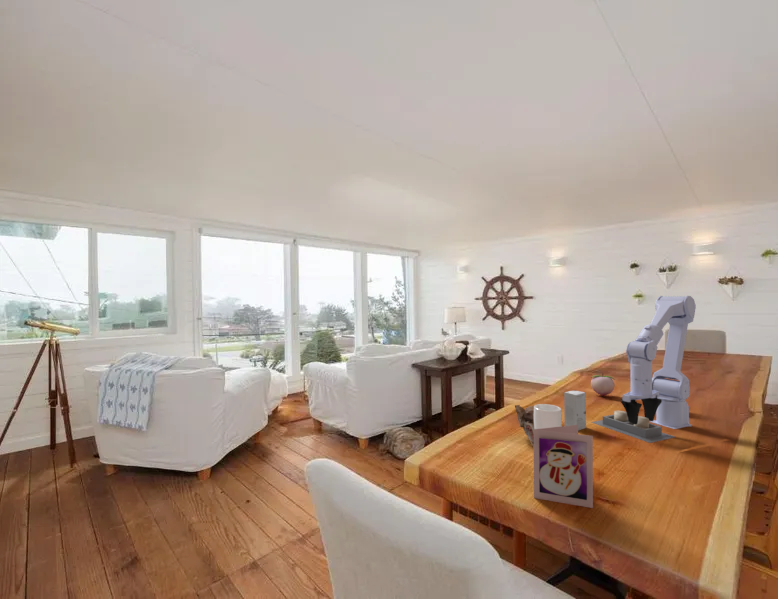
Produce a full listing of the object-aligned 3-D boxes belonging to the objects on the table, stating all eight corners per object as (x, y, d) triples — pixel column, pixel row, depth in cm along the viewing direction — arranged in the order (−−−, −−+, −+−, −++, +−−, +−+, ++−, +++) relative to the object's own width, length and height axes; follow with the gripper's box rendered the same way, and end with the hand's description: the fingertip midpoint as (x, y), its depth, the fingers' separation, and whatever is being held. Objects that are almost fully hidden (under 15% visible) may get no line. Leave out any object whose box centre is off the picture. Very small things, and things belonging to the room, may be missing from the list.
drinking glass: (559, 473, 93) (559, 412, 93) (531, 466, 97) (531, 408, 97) (563, 462, 99) (563, 406, 99) (536, 457, 103) (536, 402, 102)
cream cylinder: (639, 429, 122) (639, 415, 122) (652, 433, 118) (651, 419, 118) (630, 431, 120) (630, 417, 120) (643, 435, 117) (643, 420, 117)
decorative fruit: (595, 398, 161) (595, 375, 161) (588, 393, 169) (588, 371, 169) (618, 399, 160) (618, 375, 160) (610, 394, 168) (610, 371, 168)
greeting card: (533, 499, 81) (533, 430, 81) (533, 483, 88) (533, 420, 88) (593, 510, 77) (593, 437, 77) (588, 492, 84) (588, 425, 84)
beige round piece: (619, 423, 128) (619, 410, 128) (630, 426, 124) (630, 413, 124) (611, 424, 127) (611, 411, 127) (622, 428, 123) (622, 414, 123)
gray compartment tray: (615, 419, 134) (615, 410, 134) (675, 438, 115) (675, 428, 115) (590, 423, 129) (590, 414, 129) (650, 444, 111) (650, 434, 111)
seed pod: (522, 408, 126) (503, 403, 115) (573, 405, 116) (557, 400, 105) (526, 450, 121) (507, 449, 110) (579, 451, 111) (564, 450, 100)
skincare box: (576, 432, 121) (576, 395, 121) (563, 428, 125) (563, 392, 125) (586, 428, 124) (586, 392, 124) (573, 425, 128) (573, 389, 128)
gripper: (638, 383, 113) (638, 429, 113) (669, 379, 118) (669, 422, 118) (616, 379, 119) (616, 421, 119) (646, 375, 125) (646, 416, 125)
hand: (641, 421), depth 119 cm, fingers open, 7 cm apart
